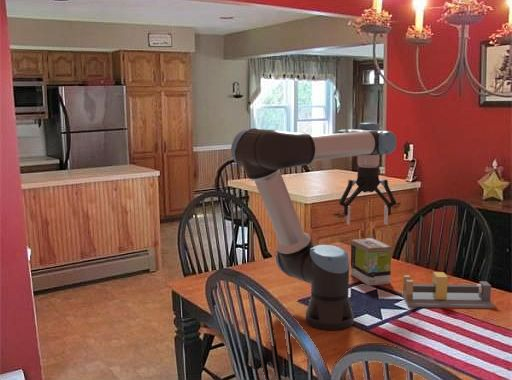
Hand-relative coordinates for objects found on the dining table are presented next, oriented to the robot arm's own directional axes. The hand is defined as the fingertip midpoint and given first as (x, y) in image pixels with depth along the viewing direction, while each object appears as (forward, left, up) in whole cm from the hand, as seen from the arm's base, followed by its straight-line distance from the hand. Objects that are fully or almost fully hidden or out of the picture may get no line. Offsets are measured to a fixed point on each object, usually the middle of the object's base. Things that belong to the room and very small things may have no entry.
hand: (367, 224), depth 195 cm
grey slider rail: (-12, -26, -25) cm, 38 cm away
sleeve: (-12, -24, -23) cm, 35 cm away
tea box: (+11, -3, -25) cm, 27 cm away
